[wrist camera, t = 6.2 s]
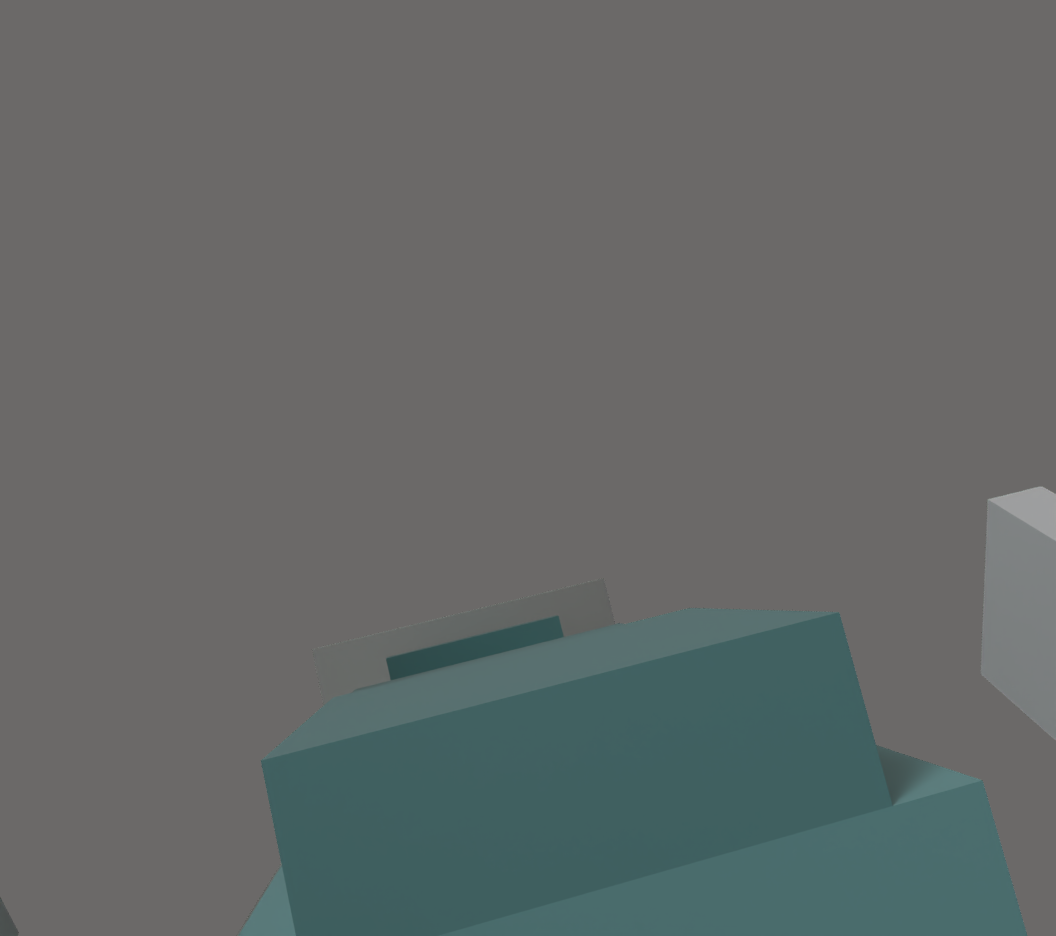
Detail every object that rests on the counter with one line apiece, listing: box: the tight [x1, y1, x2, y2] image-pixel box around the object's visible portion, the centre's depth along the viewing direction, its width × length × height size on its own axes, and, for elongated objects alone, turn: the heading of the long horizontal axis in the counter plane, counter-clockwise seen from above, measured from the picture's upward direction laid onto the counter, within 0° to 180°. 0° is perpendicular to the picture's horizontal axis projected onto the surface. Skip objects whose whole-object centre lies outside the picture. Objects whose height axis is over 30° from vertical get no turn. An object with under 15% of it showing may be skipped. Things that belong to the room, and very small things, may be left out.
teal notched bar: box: [238, 608, 1027, 936], centre depth 17 cm, size 26×4×4 cm, turn 5°
